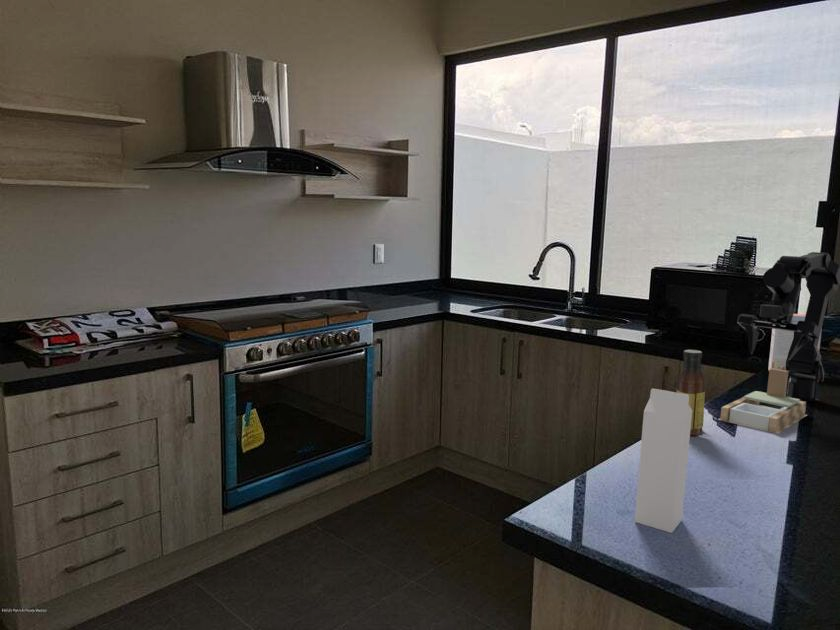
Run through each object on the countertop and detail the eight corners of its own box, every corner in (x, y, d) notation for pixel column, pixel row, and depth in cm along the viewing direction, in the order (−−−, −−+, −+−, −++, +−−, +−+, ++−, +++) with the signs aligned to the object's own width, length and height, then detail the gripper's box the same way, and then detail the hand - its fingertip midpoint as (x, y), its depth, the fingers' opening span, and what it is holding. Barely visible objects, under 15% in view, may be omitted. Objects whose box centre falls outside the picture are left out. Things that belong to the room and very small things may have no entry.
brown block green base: (755, 393, 174) (758, 365, 173) (799, 401, 166) (803, 373, 165) (743, 398, 168) (746, 370, 166) (788, 407, 160) (792, 378, 159)
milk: (645, 510, 109) (656, 384, 106) (682, 520, 105) (694, 391, 102) (634, 522, 104) (644, 391, 101) (672, 534, 100) (684, 398, 97)
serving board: (750, 406, 177) (752, 391, 177) (807, 417, 167) (809, 402, 167) (717, 422, 161) (718, 406, 160) (777, 436, 151) (779, 419, 150)
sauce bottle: (697, 429, 155) (704, 349, 152) (706, 437, 148) (714, 354, 146) (669, 427, 155) (676, 347, 152) (677, 435, 149) (684, 352, 146)
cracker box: (812, 374, 221) (819, 314, 218) (816, 378, 215) (824, 317, 213) (767, 370, 226) (773, 311, 223) (770, 373, 220) (777, 313, 217)
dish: (742, 414, 166) (743, 402, 165) (780, 422, 159) (781, 410, 159) (729, 421, 159) (730, 408, 159) (768, 430, 153) (769, 417, 153)
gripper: (737, 286, 170) (721, 341, 168) (815, 294, 156) (799, 354, 154) (751, 301, 177) (736, 353, 175) (827, 308, 163) (812, 366, 161)
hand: (769, 356), depth 166 cm, fingers open, 9 cm apart
